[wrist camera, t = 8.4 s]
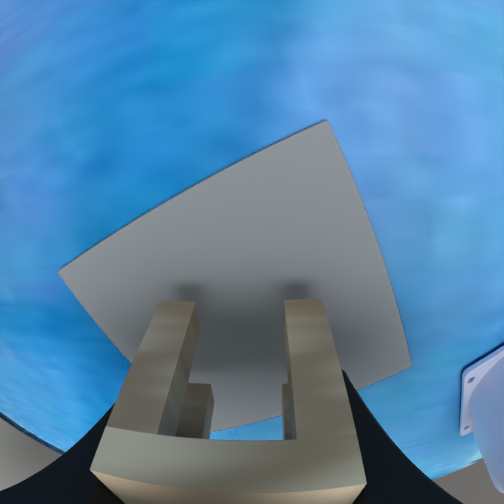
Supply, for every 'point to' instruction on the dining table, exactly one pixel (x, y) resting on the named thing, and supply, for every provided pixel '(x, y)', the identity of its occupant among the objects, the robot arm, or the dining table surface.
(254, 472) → the wooden u-frame
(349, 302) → the slate mat
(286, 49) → the dining table surface
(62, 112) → the dining table surface
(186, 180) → the dining table surface
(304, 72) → the dining table surface
